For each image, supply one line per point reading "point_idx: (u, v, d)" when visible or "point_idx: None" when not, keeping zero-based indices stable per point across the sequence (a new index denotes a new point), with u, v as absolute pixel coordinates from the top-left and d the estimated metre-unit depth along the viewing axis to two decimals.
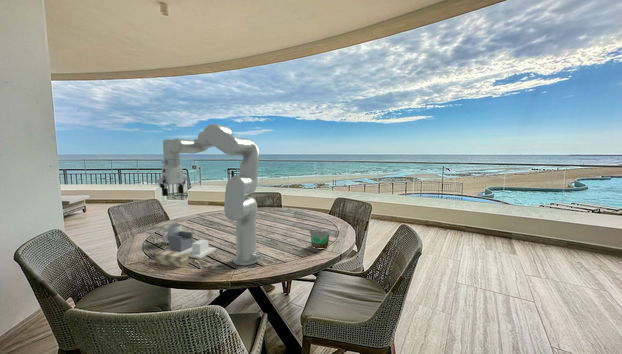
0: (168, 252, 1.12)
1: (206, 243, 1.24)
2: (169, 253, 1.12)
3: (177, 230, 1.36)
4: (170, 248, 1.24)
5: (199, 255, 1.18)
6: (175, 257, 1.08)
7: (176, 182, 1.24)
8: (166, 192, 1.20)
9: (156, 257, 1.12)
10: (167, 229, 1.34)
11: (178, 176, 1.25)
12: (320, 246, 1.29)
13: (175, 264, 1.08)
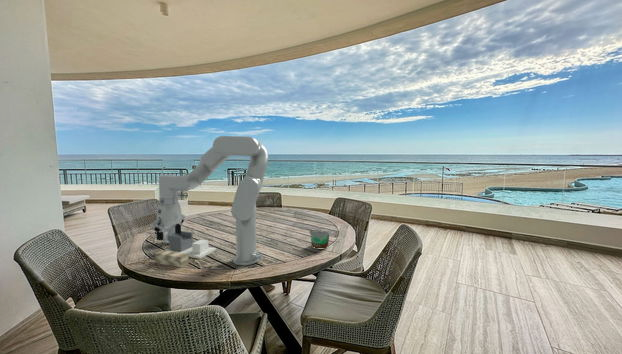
0: (168, 252, 1.12)
1: (206, 243, 1.24)
2: (169, 253, 1.12)
3: None
4: (170, 248, 1.24)
5: (199, 255, 1.18)
6: (175, 257, 1.08)
7: (173, 223, 1.09)
8: (161, 236, 1.05)
9: (156, 257, 1.12)
10: (167, 229, 1.34)
11: (175, 216, 1.10)
12: (320, 246, 1.29)
13: (175, 264, 1.08)
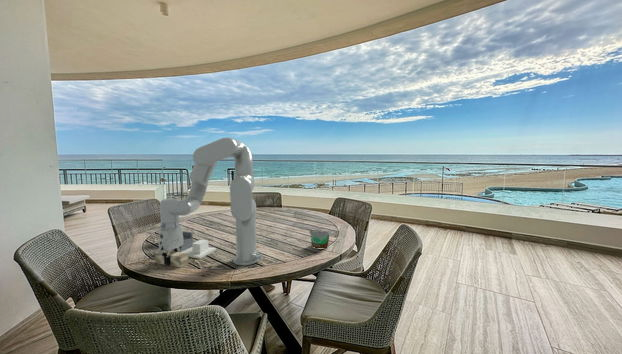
0: None
1: (206, 243, 1.24)
2: None
3: None
4: None
5: (199, 255, 1.18)
6: (175, 257, 1.08)
7: (175, 247, 1.10)
8: (169, 261, 1.08)
9: (156, 256, 1.11)
10: None
11: (177, 239, 1.11)
12: (320, 246, 1.29)
13: (175, 264, 1.08)
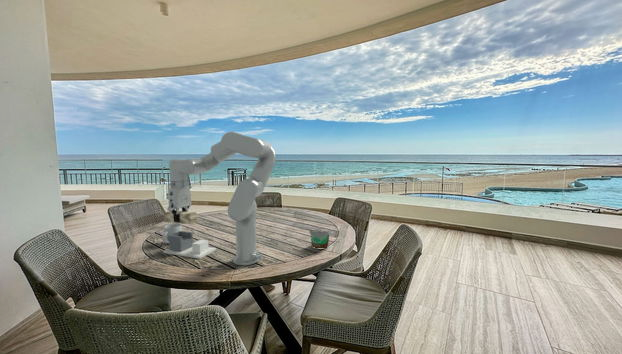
0: None
1: (206, 243, 1.24)
2: None
3: (177, 230, 1.36)
4: (170, 248, 1.24)
5: (199, 255, 1.18)
6: (184, 214, 1.13)
7: (184, 205, 1.15)
8: (178, 218, 1.14)
9: (165, 216, 1.16)
10: (167, 229, 1.34)
11: (186, 198, 1.16)
12: (320, 246, 1.29)
13: (184, 221, 1.13)
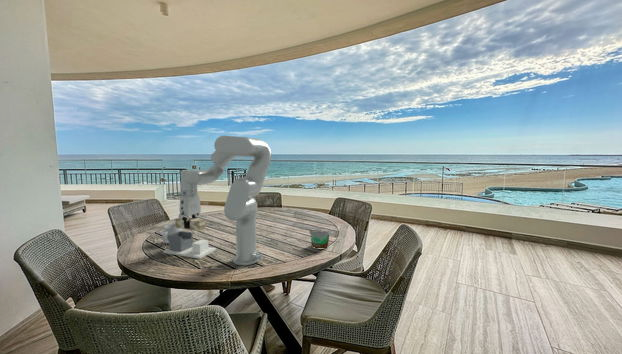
0: None
1: (206, 243, 1.24)
2: None
3: (177, 230, 1.36)
4: (170, 248, 1.24)
5: (199, 255, 1.18)
6: (194, 221, 1.21)
7: (194, 213, 1.23)
8: (188, 225, 1.21)
9: (176, 222, 1.24)
10: (167, 229, 1.34)
11: (195, 206, 1.24)
12: (320, 246, 1.29)
13: (194, 228, 1.21)
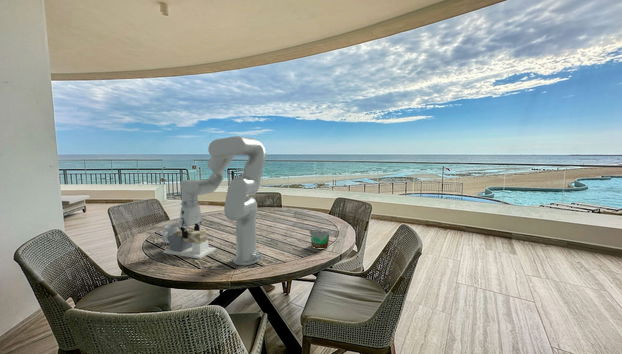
0: (187, 230, 1.26)
1: (206, 243, 1.24)
2: (189, 231, 1.25)
3: (177, 230, 1.36)
4: (170, 248, 1.24)
5: (199, 255, 1.18)
6: (194, 234, 1.21)
7: (194, 223, 1.23)
8: (186, 235, 1.20)
9: (177, 235, 1.25)
10: (167, 229, 1.34)
11: (196, 216, 1.24)
12: (320, 246, 1.29)
13: (194, 240, 1.22)
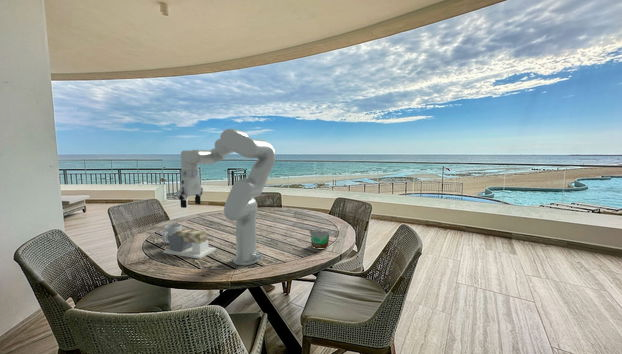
0: (187, 230, 1.26)
1: (206, 243, 1.24)
2: (189, 231, 1.25)
3: (177, 230, 1.36)
4: (170, 248, 1.24)
5: (199, 255, 1.18)
6: (194, 234, 1.21)
7: (194, 193, 1.23)
8: (185, 204, 1.19)
9: (177, 235, 1.25)
10: (167, 229, 1.34)
11: (196, 187, 1.24)
12: (320, 246, 1.29)
13: (194, 240, 1.22)
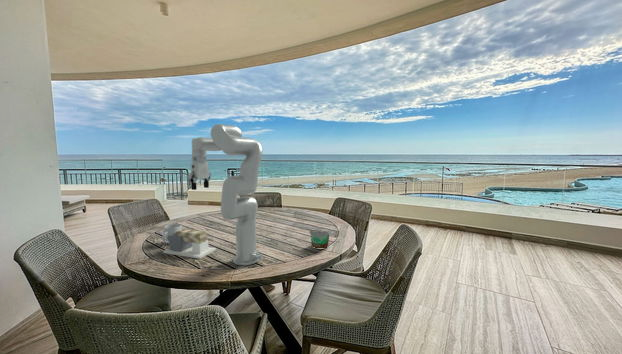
0: (187, 230, 1.26)
1: (206, 243, 1.24)
2: (189, 231, 1.25)
3: (177, 230, 1.36)
4: (170, 248, 1.24)
5: (199, 255, 1.18)
6: (194, 234, 1.21)
7: (203, 177, 1.36)
8: (195, 186, 1.32)
9: (177, 235, 1.25)
10: (167, 229, 1.34)
11: (205, 172, 1.38)
12: (320, 246, 1.29)
13: (194, 240, 1.22)
